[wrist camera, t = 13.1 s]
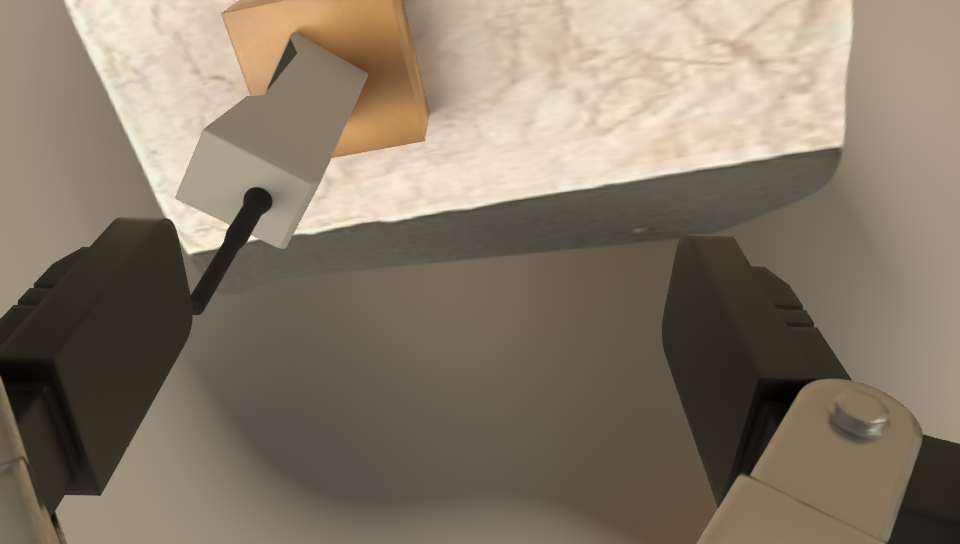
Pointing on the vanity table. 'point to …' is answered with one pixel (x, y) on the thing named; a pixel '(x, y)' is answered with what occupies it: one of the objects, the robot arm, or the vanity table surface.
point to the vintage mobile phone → (270, 153)
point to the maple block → (353, 37)
